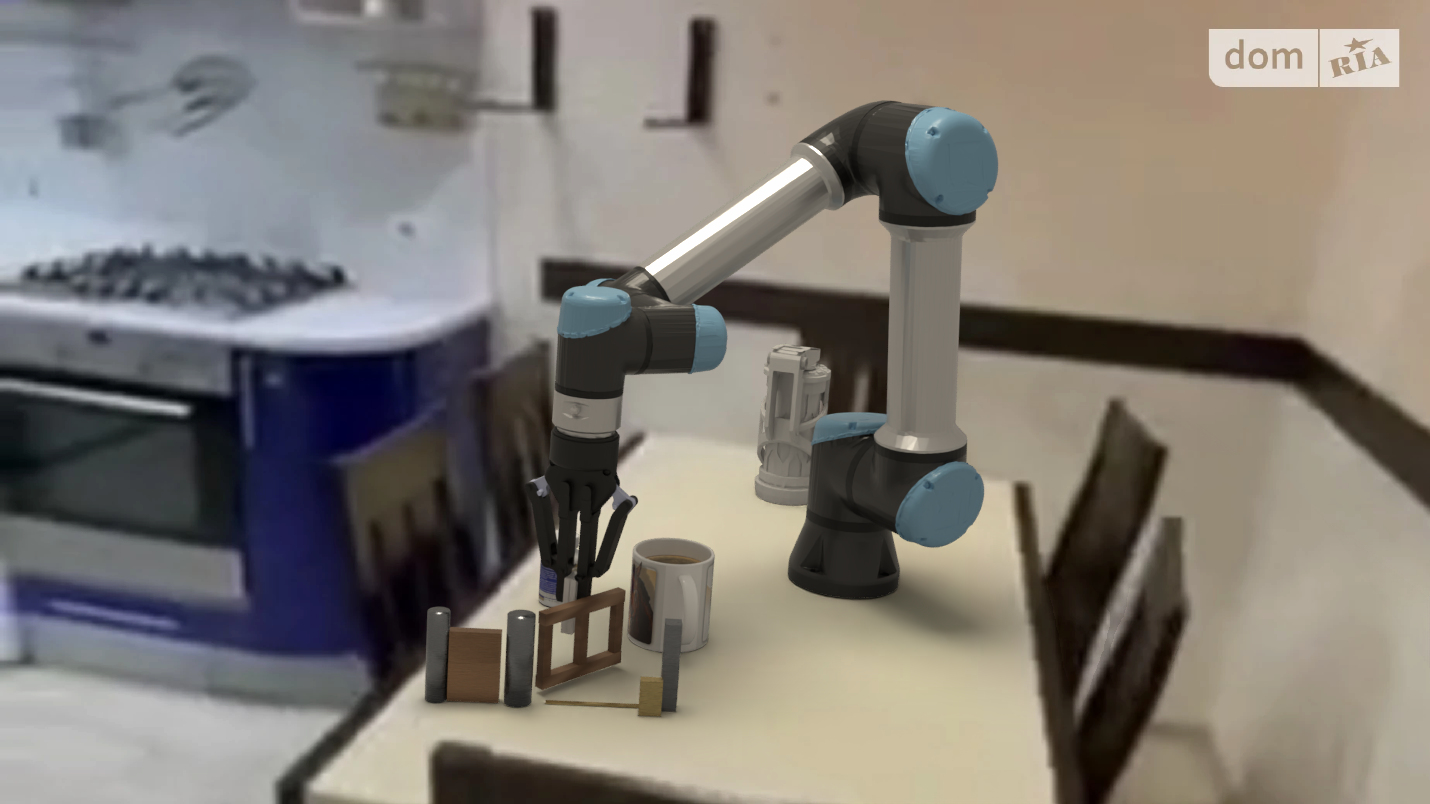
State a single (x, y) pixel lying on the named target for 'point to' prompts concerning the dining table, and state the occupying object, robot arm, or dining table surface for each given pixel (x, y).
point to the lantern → (790, 422)
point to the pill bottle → (552, 580)
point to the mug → (670, 591)
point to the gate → (579, 637)
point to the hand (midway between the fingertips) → (570, 629)
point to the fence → (484, 662)
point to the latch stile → (663, 675)
